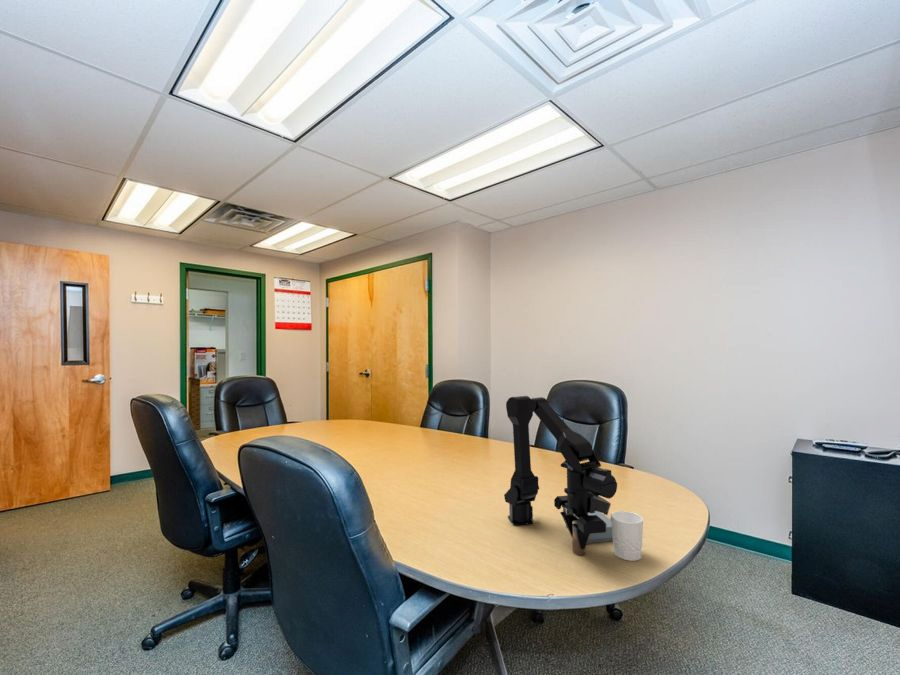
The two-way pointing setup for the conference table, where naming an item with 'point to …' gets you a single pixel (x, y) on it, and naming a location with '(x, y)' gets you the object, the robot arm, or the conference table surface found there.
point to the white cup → (627, 535)
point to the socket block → (601, 536)
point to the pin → (577, 544)
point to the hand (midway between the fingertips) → (579, 545)
